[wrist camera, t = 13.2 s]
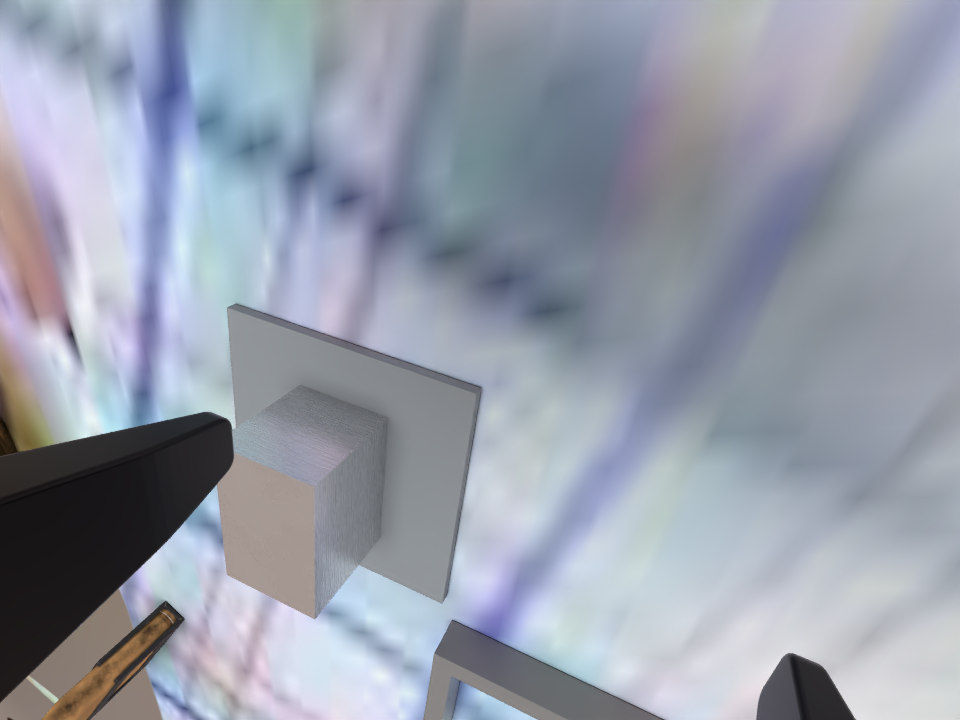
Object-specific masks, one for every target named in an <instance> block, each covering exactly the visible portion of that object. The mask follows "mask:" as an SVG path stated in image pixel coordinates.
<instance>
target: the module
mask: <svg viewBox="0 0 960 720" xmlns="http://www.w3.org/2000/svg"><path fill="white" fill-rule="evenodd" d="M388 422H389V417H386V416H383V415H381V414H378V413H375V412H373V411H370V410H367V409H364V408H362V407H359V406H356V405H354V404H351V403H348V402H346V401H343V400H340V399H337V398H335V397H332V396H329V395H327V394H324V393H321V392H319V391H316V390H313V389H310V388H308V387H305V386H302V385H299V386H297V387H296V388H294V389H293V390H291V391H290V392H289V393H287V394H286V395H284V396H283V397H281V398H280V399H278V400H277V401H275V402H274V403H272V404H271V405H269V406H268V407H266V408H265V409H263V410H262V411H260V412H259V413H257V414H256V415H254V416H253V417H251V418H250V419H248V420H247V421H245V422H244V423H242V424H241V425H239V426H238V427H236V428H235V429H233V430H232V436H233V448H234V460H233V463H232V466H231V468H230V469H229V471H228V472H227V473H226V474H225V475H224V477H223V478H222V479H221V480H220V481H219V482H218V484H217V489H218V498H219V507H220V516H221V525H222V534H223V543H224V552H225V561H226V570H227V575H228V576H230V577H232V578H234V579H236V580H238V581H240V582H242V583H244V584H246V585H248V586H250V587H252V588H254V589H256V590H258V591H260V592H262V593H264V594H266V595H268V596H270V597H272V598H274V599H276V600H278V601H280V602H282V603H284V604H286V605H288V606H290V607H292V608H294V609H296V610H298V611H300V612H302V613H304V614H306V615H308V616H310V617H312V618H314V619H316V617H317V616H318V615H319V614H320V612H321V611H322V610H323V609H324V607H325V606H326V605H327V604H328V602H329V601H330V600H331V599H332V597H333V596H334V595H335V594H336V592H337V591H338V590H339V589H340V587H341V586H342V585H343V584H344V583H345V581H346V580H347V579H348V578H349V576H350V575H351V574H352V573H353V571H354V570H355V569H356V568H357V566H358V565H359V564H360V563H361V561H362V560H363V559H364V558H365V556H366V555H367V554H368V553H369V551H370V550H371V549H372V548H373V546H374V545H375V544H376V543H377V541H378V540H379V539H380V535H381V521H382V507H383V493H384V479H385V465H386V451H387V436H388Z"/></svg>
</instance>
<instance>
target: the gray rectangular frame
mask: <svg viewBox="0 0 960 720" xmlns="http://www.w3.org/2000/svg"><path fill="white" fill-rule="evenodd" d="M460 681H462V682H464V683H466V684H468V685H470V686H472V687H474V688H476V689H478V690H480V691H482V692H484V693H486V694H488V695H490V696H492V697H494V698H496V699H498V700H500V701H502V702H504V703H506V704H508V705H510V706H512V707H514V708H516V709H518V710H520V711H522V712H524V713H526V714H528V715H530V716H532V717H534V718H536V719H538V720H662V719H660V718H658V717H656V716H654V715H652V714H650V713H647V712H645V711H643V710H641V709H639V708H637V707H635V706H633V705H631V704H628V703H626V702H624V701H622V700H620V699H618V698H616V697H614V696H611V695H609V694H607V693H605V692H603V691H601V690H599V689H597V688H595V687H592V686H590V685H588V684H586V683H584V682H582V681H580V680H578V679H576V678H573V677H571V676H569V675H567V674H565V673H563V672H561V671H559V670H556V669H554V668H552V667H550V666H548V665H546V664H544V663H542V662H540V661H537V660H535V659H533V658H531V657H529V656H527V655H525V654H523V653H521V652H518V651H516V650H514V649H512V648H510V647H508V646H506V645H504V644H501V643H499V642H497V641H495V640H493V639H491V638H489V637H487V636H485V635H482V634H480V633H478V632H476V631H474V630H472V629H470V628H468V627H466V626H463V625H461V624H459V623H457V622H455V621H453V620H452V622H451V624H450V625H449V627H448V629H447V631H446V633H445V635H444V637H443V638H442V640H441V642H440V644H439V646H438V648H437V649H436V651H435V653H434V658H433V664H432V670H431V677H430V683H429V689H428V695H427V701H426V707H425V713H424V719H423V720H452V717H453V712H454V707H455V702H456V698H457V693H458V688H459V683H460Z"/></svg>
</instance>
